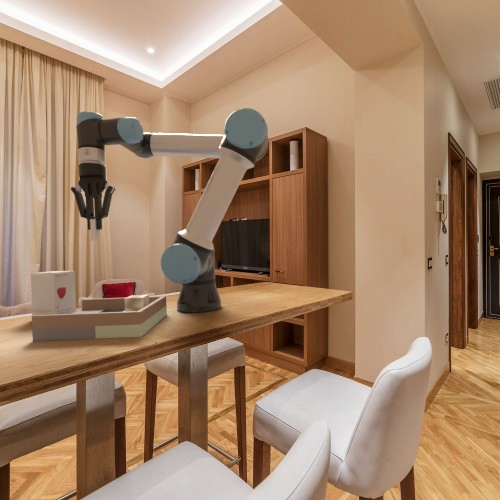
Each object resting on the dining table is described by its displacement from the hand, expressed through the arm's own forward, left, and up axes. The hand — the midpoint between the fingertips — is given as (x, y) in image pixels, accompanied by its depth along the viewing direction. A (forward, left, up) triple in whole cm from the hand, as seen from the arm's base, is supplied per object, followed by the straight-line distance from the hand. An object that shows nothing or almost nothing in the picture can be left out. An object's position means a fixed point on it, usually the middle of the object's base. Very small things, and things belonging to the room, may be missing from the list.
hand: (95, 240), depth 98 cm
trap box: (-8, +11, -24) cm, 28 cm away
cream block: (-16, +11, -21) cm, 29 cm away
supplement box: (+16, -4, -25) cm, 30 cm away
